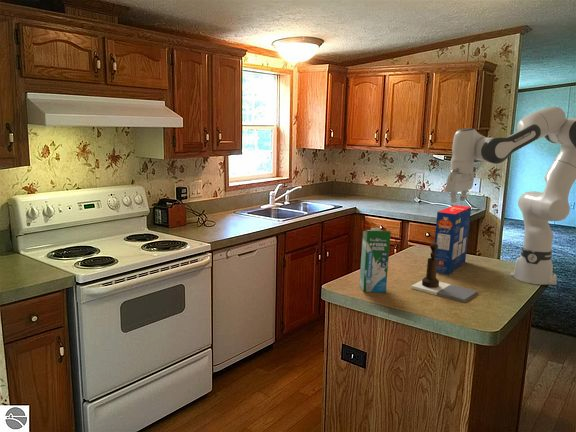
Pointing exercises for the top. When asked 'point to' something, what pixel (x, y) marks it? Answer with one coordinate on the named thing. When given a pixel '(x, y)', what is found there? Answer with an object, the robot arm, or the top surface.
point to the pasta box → (452, 237)
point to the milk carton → (374, 260)
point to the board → (447, 291)
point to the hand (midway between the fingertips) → (458, 201)
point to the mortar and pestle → (431, 269)
